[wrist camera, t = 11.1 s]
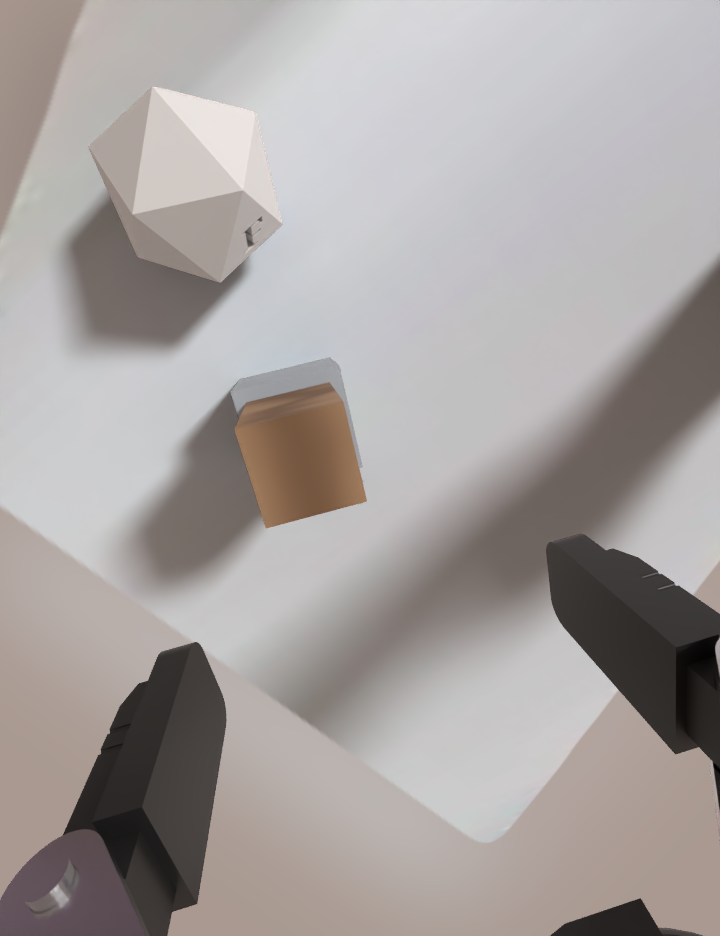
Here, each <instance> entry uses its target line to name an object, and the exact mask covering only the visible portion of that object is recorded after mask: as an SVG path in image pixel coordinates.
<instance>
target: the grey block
mask: <svg viewBox="0 0 720 936" xmlns="http://www.w3.org/2000/svg"><path fill="white" fill-rule="evenodd" d="M327 382H330V384H331V385H332V386H333V388H334V389H335V391H336V392H337V393H338V395H339V396H340V398H341V399H342V400H343V402H344V406H345V410H346V414H347V418H348V423H349V427H350V431H351V436H352V440H353V444H354V448H355V453H356V457H357V461H358V466H359V468H360V467H362V462H361V458H360V454H359V449H358V445H357V441H356V436H355V432H354V428H353V423H352V419H351V415H350V410H349V406H348V402H347V397H346V393H345V389H344V384H343V380H342V376H341V371H340V367H339V365H338V364H337V363H336V362H335V361H333V360H332V359H331V358H326V359H321V360H317V361H313V362H309V363H305V364H301V365H297V366H293V367H288V368H284V369H280V370H276V371H272V372H268V373H264V374H259V375H255V376H251V377H247V378H243V379H240V380H239V381H238V382H237V384H236V385H235V386H234V388H233V389H232V390H231V392H230V393H231V396H232V399H233V402H234V405H235V409H236V412H237V415H238V418H240V415H241V413H242V411H243V409H244V407H245V405H246V402H250V401H254V400H258V399H262V398H266V397H270V396H274V395H279V394H283V393H287V392H291V391H295V390H299V389H303V388H307V387H311V386H315V385H319V384H323V383H327Z"/></svg>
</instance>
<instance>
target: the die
mask: <svg viewBox="0 0 720 936" xmlns="http://www.w3.org/2000/svg"><path fill="white" fill-rule="evenodd" d="M88 148H89V150H90V152H91V154H92V157H93V159H94V161H95V163H96V166H97V168H98V170H99V172H100V175H101V177H102V179H103V181H104V184H105V186H106V188H107V190H108V193H109V195H110V197H111V199H112V202H113V204H114V206H115V208H116V210H117V213H118V215H119V217H120V219H121V222H122V224H123V226H124V228H125V231H126V233H127V235H128V237H129V240H130V242H131V244H132V246H133V249H134V251H135V253H136V255H137V257H138V258H141V259H144V260H148V261H151V262H154V263H157V264H161V265H164V266H167V267H170V268H173V269H177V270H180V271H183V272H186V273H190V274H193V275H196V276H199V277H203V278H206V279H209V280H212V281H215V282H219V283H221V282H222V281H223V280H224V279H225V278H226V277H227V276H228V275H229V274H230V273H231V272H233V271H234V270H235V269H236V268H237V267H238V266H239V265H240V264H241V263H242V262H243V261H244V260H245V259H246V258H248V257H249V256H250V255H251V254H252V253H253V252H254V251H255V250H256V249H257V248H258V247H259V246H260V245H261V244H262V243H264V242H265V241H266V240H267V239H268V238H269V237H270V236H271V235H272V234H273V233H274V232H275V231H276V230H277V229H279V228H280V227H281V226H282V225H283V223H282V219H281V215H280V210H279V206H278V202H277V198H276V194H275V190H274V185H273V181H272V177H271V173H270V169H269V165H268V160H267V156H266V152H265V148H264V144H263V140H262V135H261V131H260V127H259V123H258V119H257V114H256V112H254V111H250V110H246V109H242V108H239V107H235V106H231V105H227V104H223V103H219V102H215V101H211V100H207V99H203V98H199V97H196V96H192V95H188V94H184V93H180V92H176V91H172V90H168V89H164V88H158V87H151V88H150V89H149V90H148V91H147V92H146V93H145V94H144V95H143V96H142V97H141V98H140V99H139V100H137V101H136V102H135V103H134V104H133V105H132V106H131V107H130V108H129V109H128V110H127V111H126V112H125V113H124V114H122V115H121V116H120V117H119V118H118V119H117V120H116V121H115V122H114V123H113V124H112V125H111V126H110V127H109V128H108V129H106V130H105V131H104V132H103V133H102V134H101V135H100V136H99V137H98V138H97V139H96V140H95V141H94V142H93V143H92V144H90V145H89V146H88Z"/></svg>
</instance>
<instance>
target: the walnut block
mask: <svg viewBox="0 0 720 936" xmlns="http://www.w3.org/2000/svg"><path fill="white" fill-rule="evenodd" d="M234 430H235V434H236V437H237V440H238V443H239V446H240V449H241V452H242V455H243V458H244V461H245V465H246V468H247V471H248V474H249V477H250V480H251V483H252V486H253V489H254V492H255V496H256V499H257V502H258V505H259V508H260V511H261V514H262V517H263V520H264V524H265V527H266V528H269V527H273V526H277V525H280V524H284V523H288V522H292V521H295V520H299V519H303V518H307V517H310V516H314V515H318V514H322V513H325V512H329V511H333V510H337V509H340V508H344V507H348V506H351V505H355V504H359V503H363V502H366V501H367V500H366V495H365V491H364V487H363V483H362V478H361V474H360V470H359V466H358V461H357V457H356V453H355V448H354V444H353V440H352V436H351V431H350V427H349V423H348V418H347V414H346V410H345V406H344V402H343V400H342V399H341V398H340V396H339V395H338V393H337V392H336V391H335V389H334V388H333V386H332V385H331V384H330V382H327V383H323V384H319V385H315V386H311V387H307V388H303V389H299V390H295V391H291V392H287V393H283V394H279V395H274V396H270V397H266V398H262V399H258V400H254V401H250V402H246V405H245V407H244V409H243V411H242V413H241V415H240V418H239V420H238V422H237V424H236V426H235V429H234Z"/></svg>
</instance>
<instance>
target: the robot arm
mask: <svg viewBox="0 0 720 936" xmlns="http://www.w3.org/2000/svg"><path fill="white" fill-rule="evenodd" d="M546 553H547V563H548V572H549V582H550V592H551V600H552V605H553V608H554V611H555V613H556V615H557V617H558V619H559V621H560V623H561V624H562V626H563V627H564V628H565V629H566V630H567V632H568V633H569V634H570V635H571V636H572V637H573V638H574V639H575V641H576V642H577V643H578V644H579V645H580V646H581V647H582V649H583V650H584V651H585V652H586V653H587V654H588V655H589V657H590V658H591V659H592V660H593V661H594V662H595V663H596V665H597V666H598V667H599V668H600V669H601V670H602V671H603V673H604V674H605V675H606V676H607V677H608V678H609V679H610V680H611V682H612V683H613V684H614V685H615V686H616V687H617V688H618V690H619V691H620V692H621V693H622V694H623V695H624V696H625V698H626V699H627V700H628V701H629V702H630V703H631V704H632V706H633V707H634V708H635V709H636V710H637V711H638V712H639V713H640V715H641V716H642V717H643V718H644V719H645V720H646V721H647V723H648V724H649V725H650V726H651V727H652V728H653V729H654V730H655V732H657V734H658V735H659V736H660V737H661V738H662V740H663V741H664V742H665V743H666V744H667V745H668V747H669V748H670V749H671V750H672V751H673V752H674V753H675V754H678V753H681V752H685V751H687V750H691V749H694V748H697V747H700V749H701V750H702V751H703V752H704V753H705V754H706V755H707V756H708V757H709V758H710V759H711V761H710V774H711V781H712V788H713V796H714V803H715V810H716V818H717V825H718V832H719V840H720V614H719V613H717V612H716V611H714V610H713V609H712V608H710V607H709V606H707V605H706V604H704V603H703V602H701V601H700V600H699V599H697V598H696V597H694V596H693V595H691V594H690V593H689V592H687V591H686V590H684V589H683V588H681V587H680V586H675V584H674V582H673V581H671V580H670V579H668V578H667V577H666V576H664V575H663V574H659V573H658V571H657V570H655V569H654V568H653V567H651V566H650V565H648V564H647V563H645V562H644V561H642V560H641V559H640V558H638V557H635V556H632V555H630V554H627V553H624V552H621V551H618V550H615V549H609V550H605V549H603V548H602V547H600V546H599V545H598V544H596V543H595V542H594V541H592V540H591V539H590V538H588V537H587V536H585V535H583V534H578V535H575V536H571V537H568V538H564V539H561V540H557V541H554V542H550V543H548V545H547V549H546ZM225 728H226V708H225V702H224V698H223V695H222V693H221V690H220V688H219V686H218V683H217V681H216V679H215V676H214V674H213V672H212V670H211V667H210V665H209V662H208V660H207V658H206V655H205V653H204V651H203V649H202V647H201V645H200V644H199V643H197V642H194V643H191V644H187V645H184V646H180V647H177V648H173V649H170V650H166V651H163V652H161V653H160V654H159V655H158V657H157V659H156V662H155V665H154V667H153V670H152V672H151V675H150V677H149V680H148V681H146V682H142V683H139V684H138V685H137V686H136V687H135V689H134V690H133V691H132V692H131V693H130V695H129V696H128V697H127V698H126V700H125V701H124V702H123V703H122V704H121V706H120V707H119V710H118V712H117V714H116V717H115V719H114V721H113V723H112V725H111V728H110V734H108V735H107V737H106V739H105V741H104V743H103V746H102V748H101V754H100V755H98V757H97V759H96V762H95V764H94V766H93V768H92V771H91V773H90V775H89V777H88V780H87V782H86V785H85V786H84V789H83V791H82V793H81V796H80V798H79V800H78V802H77V804H76V807H75V809H74V812H73V814H72V816H71V818H70V820H69V823H68V825H67V827H66V829H65V832H64V834H63V836H61V837H59V838H57V839H56V840H54V841H52V842H51V843H50V844H48V845H47V846H45V847H44V848H43V849H41V850H40V851H39V852H38V853H37V854H36V855H35V856H33V857H32V858H31V859H30V860H29V861H28V862H27V863H26V864H25V865H24V866H23V867H22V869H21V870H20V871H19V872H18V874H17V875H16V876H15V877H14V879H13V880H12V881H11V883H10V884H9V886H8V887H7V889H6V891H5V892H4V894H3V895H2V897H1V900H0V936H167V934H168V929H169V924H170V919H171V914H172V912H173V911H176V910H179V909H182V908H186V907H189V906H192V905H195V904H197V901H198V895H199V889H200V883H201V877H202V871H203V864H204V858H205V852H206V846H207V840H208V833H209V827H210V821H211V815H212V809H213V802H214V796H215V790H216V784H217V778H218V771H219V765H220V759H221V753H222V746H223V741H224V735H225ZM551 936H702V935H699V934H696V933H692V932H687V931H682V930H676V929H671V928H658V927H657V925H656V923H655V922H654V920H653V918H652V917H651V915H650V913H649V912H648V910H647V908H646V907H645V905H644V903H643V902H642V900H641V899H637V900H635V901H631V902H628V903H625V904H623V905H619V906H616V907H613V908H610V909H607V910H604V911H601V912H599V913H596V914H593V915H590V916H587V917H584V918H581V919H578V920H575V921H572V922H569V923H566V924H564V925H563V926H562V927H561V928H559V929H558V930H557V931H556V932H554V933H553V934H552V935H551Z"/></svg>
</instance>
